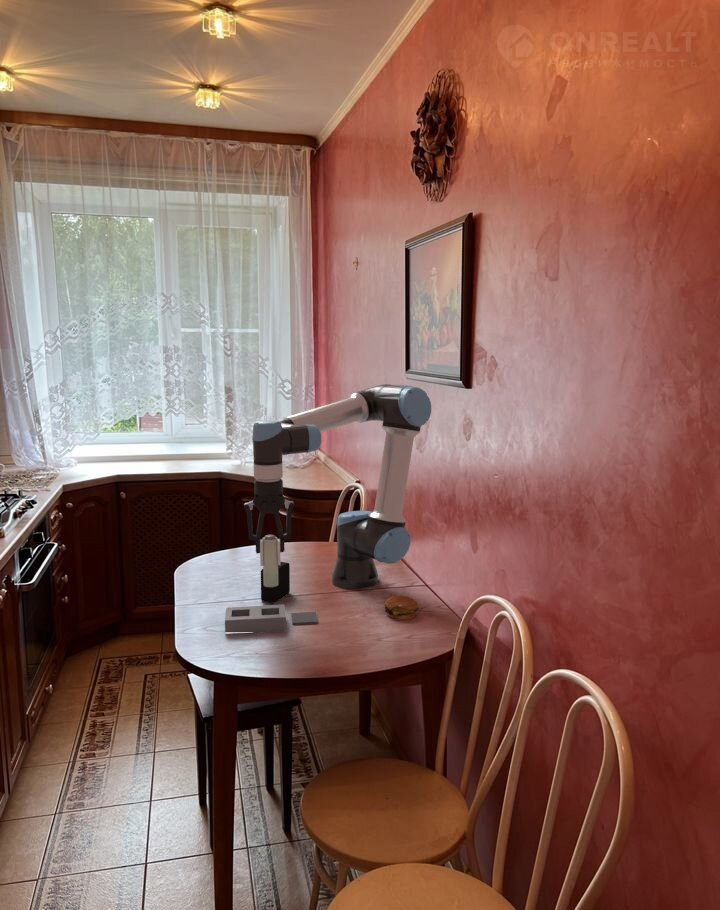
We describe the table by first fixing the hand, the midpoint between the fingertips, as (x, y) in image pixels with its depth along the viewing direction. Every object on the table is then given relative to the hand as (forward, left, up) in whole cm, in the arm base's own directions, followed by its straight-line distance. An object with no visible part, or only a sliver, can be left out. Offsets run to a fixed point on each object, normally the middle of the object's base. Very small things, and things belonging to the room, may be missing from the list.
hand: (270, 563), depth 183 cm
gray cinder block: (+4, 0, -18) cm, 18 cm away
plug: (0, 0, -6) cm, 6 cm away
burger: (-37, -3, -18) cm, 41 cm away
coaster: (-9, -3, -18) cm, 20 cm away
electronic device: (-2, -21, -18) cm, 28 cm away
